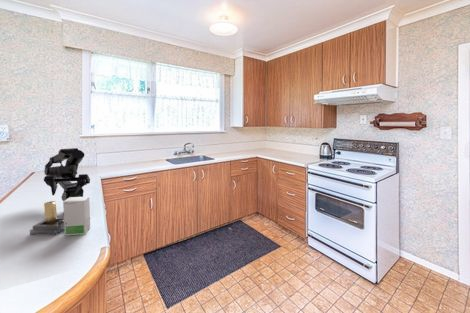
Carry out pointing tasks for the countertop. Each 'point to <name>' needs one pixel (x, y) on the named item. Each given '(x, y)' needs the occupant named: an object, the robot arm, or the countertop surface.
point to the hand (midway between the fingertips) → (64, 194)
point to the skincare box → (76, 215)
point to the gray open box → (47, 228)
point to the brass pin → (50, 213)
